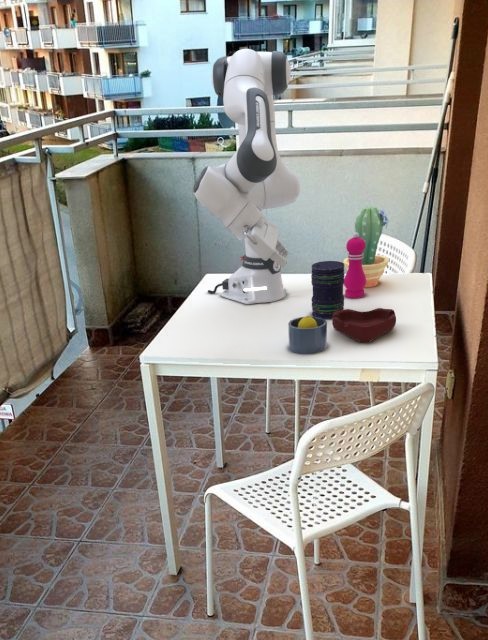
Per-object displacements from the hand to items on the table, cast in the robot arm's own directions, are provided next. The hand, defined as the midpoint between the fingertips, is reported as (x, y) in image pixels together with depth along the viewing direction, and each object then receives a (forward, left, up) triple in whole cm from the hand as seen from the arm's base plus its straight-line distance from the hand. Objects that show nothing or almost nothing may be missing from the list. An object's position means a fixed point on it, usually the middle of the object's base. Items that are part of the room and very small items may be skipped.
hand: (286, 259), depth 180 cm
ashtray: (+12, +19, -24) cm, 33 cm away
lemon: (+4, +3, -23) cm, 24 cm away
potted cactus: (-14, +62, -24) cm, 68 cm away
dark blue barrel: (-7, +29, -24) cm, 38 cm away
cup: (+4, +3, -24) cm, 25 cm away
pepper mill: (-10, +49, -24) cm, 55 cm away
